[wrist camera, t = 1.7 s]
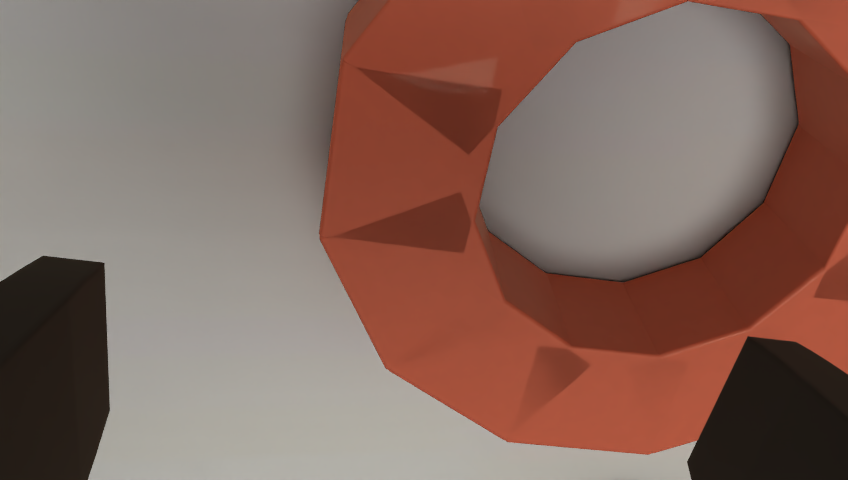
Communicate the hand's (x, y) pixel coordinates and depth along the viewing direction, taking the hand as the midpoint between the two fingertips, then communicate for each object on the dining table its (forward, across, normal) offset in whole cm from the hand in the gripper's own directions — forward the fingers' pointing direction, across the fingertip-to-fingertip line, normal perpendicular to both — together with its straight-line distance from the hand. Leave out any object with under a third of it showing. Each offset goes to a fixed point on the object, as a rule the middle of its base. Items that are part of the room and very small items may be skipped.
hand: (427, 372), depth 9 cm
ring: (+8, -5, 0) cm, 10 cm away
